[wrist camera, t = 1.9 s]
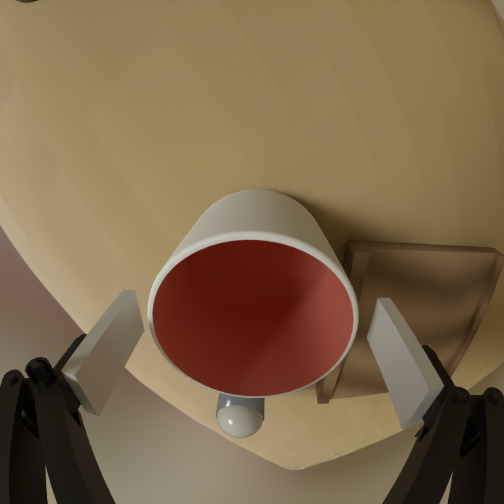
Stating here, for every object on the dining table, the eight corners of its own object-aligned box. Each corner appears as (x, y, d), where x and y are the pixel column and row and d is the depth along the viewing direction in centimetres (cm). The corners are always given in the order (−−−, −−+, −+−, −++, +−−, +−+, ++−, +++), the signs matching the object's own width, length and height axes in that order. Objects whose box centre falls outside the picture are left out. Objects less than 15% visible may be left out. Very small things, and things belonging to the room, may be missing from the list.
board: (347, 240, 21) (354, 251, 19) (493, 248, 20) (505, 256, 18) (315, 389, 28) (317, 403, 26) (441, 372, 27) (446, 383, 25)
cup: (208, 308, 24) (182, 399, 15) (181, 196, 20) (117, 249, 11) (323, 296, 23) (350, 388, 14) (316, 178, 19) (363, 217, 10)
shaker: (223, 345, 25) (210, 422, 17) (265, 347, 25) (264, 425, 17) (226, 372, 27) (215, 443, 19) (264, 373, 27) (262, 446, 19)
